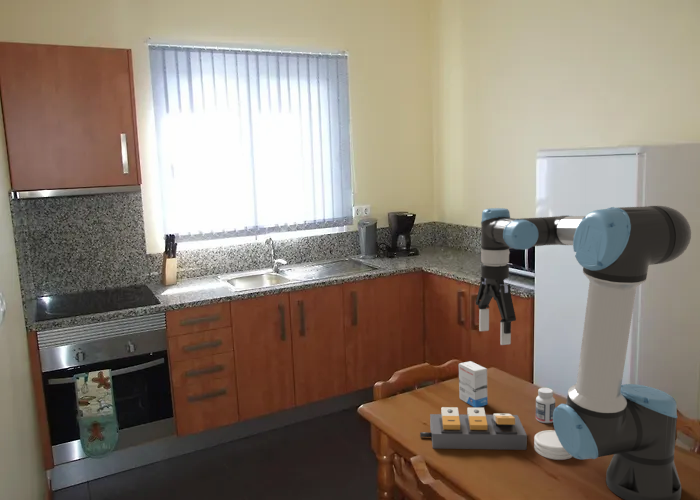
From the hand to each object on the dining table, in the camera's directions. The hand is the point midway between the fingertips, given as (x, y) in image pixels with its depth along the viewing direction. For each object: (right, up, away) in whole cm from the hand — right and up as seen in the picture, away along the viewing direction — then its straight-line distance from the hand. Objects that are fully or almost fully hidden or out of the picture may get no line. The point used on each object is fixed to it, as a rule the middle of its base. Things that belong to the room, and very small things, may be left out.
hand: (494, 337), depth 166 cm
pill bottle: (+15, -24, +1) cm, 28 cm away
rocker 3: (0, -20, -12) cm, 23 cm away
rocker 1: (-14, -20, -11) cm, 27 cm away
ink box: (-3, -22, +15) cm, 27 cm away
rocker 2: (-7, -20, -11) cm, 24 cm away
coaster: (+11, -27, -16) cm, 34 cm away
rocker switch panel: (-9, -26, -9) cm, 29 cm away
